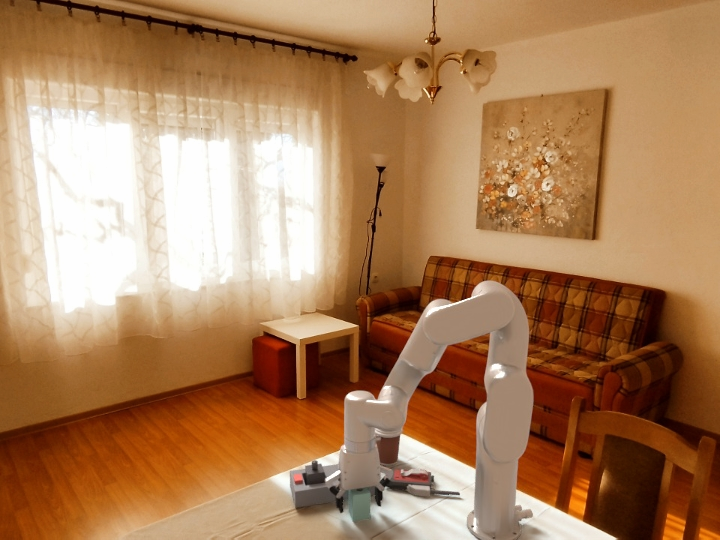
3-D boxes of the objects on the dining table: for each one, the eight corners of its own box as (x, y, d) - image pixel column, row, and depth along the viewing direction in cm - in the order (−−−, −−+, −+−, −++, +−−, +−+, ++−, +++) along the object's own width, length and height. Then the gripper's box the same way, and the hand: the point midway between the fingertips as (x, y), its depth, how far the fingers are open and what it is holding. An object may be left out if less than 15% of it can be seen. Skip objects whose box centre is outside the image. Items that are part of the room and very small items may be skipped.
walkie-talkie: (384, 494, 137) (460, 501, 134) (384, 479, 136) (460, 485, 133) (386, 476, 145) (458, 482, 143) (387, 462, 145) (458, 467, 142)
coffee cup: (369, 453, 157) (369, 417, 155) (398, 451, 159) (398, 415, 157) (375, 469, 148) (375, 431, 146) (405, 466, 150) (406, 428, 148)
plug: (365, 508, 130) (365, 475, 129) (370, 519, 126) (370, 485, 125) (348, 511, 129) (348, 478, 128) (352, 522, 125) (353, 488, 124)
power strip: (367, 474, 146) (367, 445, 144) (377, 494, 136) (377, 463, 135) (290, 486, 140) (289, 455, 138) (295, 507, 130) (294, 475, 129)
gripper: (388, 431, 130) (387, 492, 133) (321, 439, 126) (322, 503, 128) (398, 445, 123) (397, 509, 126) (328, 454, 119) (328, 521, 121)
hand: (359, 506), depth 127 cm, fingers open, 9 cm apart
